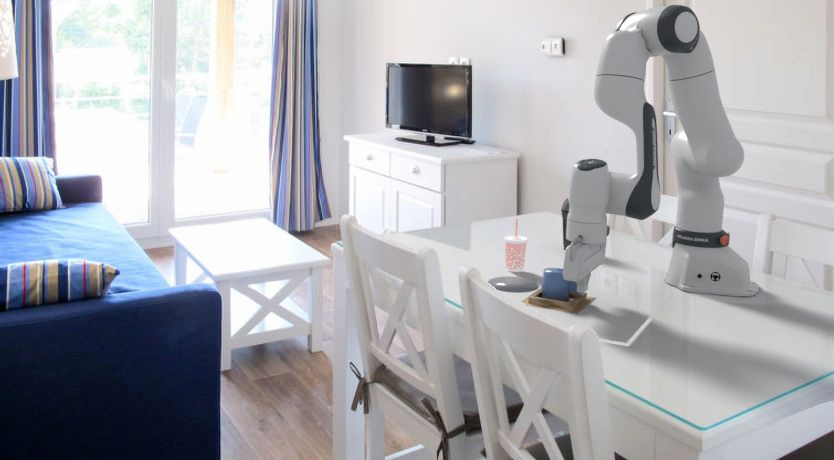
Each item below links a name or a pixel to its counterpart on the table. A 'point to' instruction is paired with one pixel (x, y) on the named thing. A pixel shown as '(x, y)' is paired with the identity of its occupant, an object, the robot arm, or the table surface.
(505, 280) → the coaster
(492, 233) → the table surface
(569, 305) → the tray
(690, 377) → the table surface
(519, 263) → the beverage cup
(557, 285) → the blue cylinder with nub
